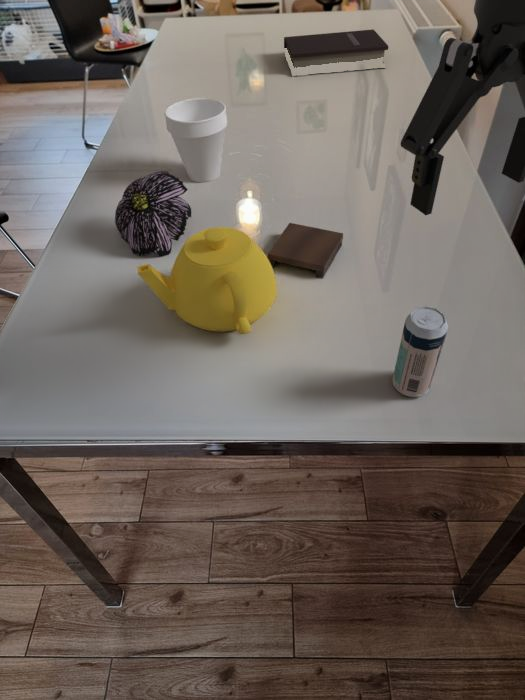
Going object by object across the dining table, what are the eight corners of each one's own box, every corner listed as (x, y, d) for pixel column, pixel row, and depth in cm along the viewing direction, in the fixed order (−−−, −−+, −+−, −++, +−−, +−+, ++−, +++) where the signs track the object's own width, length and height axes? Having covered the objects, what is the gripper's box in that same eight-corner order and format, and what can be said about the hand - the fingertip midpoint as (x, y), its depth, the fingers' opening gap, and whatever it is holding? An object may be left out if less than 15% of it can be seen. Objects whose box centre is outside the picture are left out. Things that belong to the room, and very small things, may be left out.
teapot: (256, 260, 86) (251, 192, 77) (299, 330, 73) (300, 260, 64) (142, 290, 82) (122, 222, 73) (167, 370, 69) (147, 300, 60)
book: (369, 48, 161) (371, 27, 157) (385, 68, 148) (388, 46, 144) (284, 56, 160) (283, 35, 156) (292, 76, 147) (292, 54, 143)
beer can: (437, 388, 65) (459, 321, 56) (409, 405, 63) (428, 338, 55) (411, 365, 68) (428, 298, 59) (384, 381, 66) (397, 314, 57)
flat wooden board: (342, 245, 88) (343, 233, 86) (323, 278, 82) (324, 266, 80) (289, 234, 91) (289, 222, 89) (267, 265, 85) (267, 253, 83)
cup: (165, 175, 109) (152, 110, 99) (210, 156, 114) (201, 92, 104) (198, 195, 102) (187, 127, 92) (244, 173, 107) (238, 108, 98)
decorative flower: (81, 200, 84) (142, 144, 87) (103, 238, 95) (157, 187, 98) (143, 247, 80) (204, 186, 84) (159, 281, 91) (212, 226, 95)
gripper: (596, -62, 48) (523, 153, 63) (382, -23, 41) (358, 207, 56) (671, -52, 43) (573, 177, 59) (444, -6, 36) (400, 240, 52)
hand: (467, 192), depth 58 cm, fingers open, 13 cm apart
